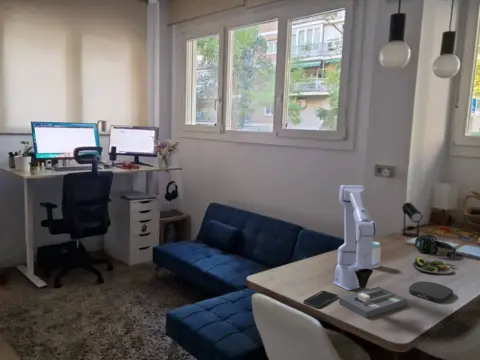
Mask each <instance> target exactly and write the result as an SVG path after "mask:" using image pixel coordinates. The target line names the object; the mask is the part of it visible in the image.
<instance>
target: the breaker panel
mask: <svg viewBox="0 0 480 360" xmlns="http://www.w3.org/2000/svg"><path fill="white" fill-rule="evenodd" d="M360 293H364V294H366V295H368V296H370V300H367V301H364V302H363V301H361V300H359V299H358V294H360ZM338 298H339V301H338V303H339V305H341V306H343V307H345V308H346V309H349V310H350V311H352V312H354V313H356V314H357V315H360V316H361V317H363V318H366V319H368V318H371V317H374V316H377V315H380V314H384V313H386V312H390V311H393V310H395V309H398V308H402V307H404V306H407V298H406V297H403V296H401V295H398V294H397V293H394V292H392V291H389V290H387V289H384V288H383V287H380V286H376V287H372V288H369V289H365V290H361V291H358V292H354V293H351V294H348V295H347V294H346V295H344V296H340V297H338Z"/></svg>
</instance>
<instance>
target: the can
mask: <svg viewBox="0 0 480 360" xmlns="http://www.w3.org/2000/svg"><path fill="white" fill-rule="evenodd" d="M380 244H381V243H380V242H379V241H374V240H373V248H372V260H376V261H379V266H377V267H376V266H374V267H373V269H379V268H380V267H381V255H382V254H381V253H382V251H381V250H382V247H381V246H382V245H380Z"/></svg>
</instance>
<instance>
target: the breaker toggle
mask: <svg viewBox="0 0 480 360" xmlns="http://www.w3.org/2000/svg"><path fill="white" fill-rule="evenodd" d="M358 299H359V300H361V301H363V302H364V301H367V300H370V296H368V295H366V294H364V293H360V294H358Z"/></svg>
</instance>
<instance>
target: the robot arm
mask: <svg viewBox="0 0 480 360" xmlns="http://www.w3.org/2000/svg"><path fill="white" fill-rule="evenodd" d="M338 195H339V197H338V199H339V201H338V202H339V204H340V205H341V206H343V212H344V213H343V214H344V215H343V216H344V217H343V223H344V224H343V225H344V228H343V229H344V231H343V232H344V234H343V235H344V243H342V245H340V246H339V247H338V248H337V256H336V257H337V264H336V267H335V271H334V281H333V284H334V285H337V286H338V287H340V288H342V289H344V290H345V291H352V290H356V289H360V288H361V289H365V288H366V287H367V284H368V281H369V279H370V277H371V275H372V274H373V272H374V271H373V269H374V268H373V267H374V266H376V267H377V266H379V261H376V260H372V248H373V241H374V237H375V236H376V233H377V227H376V223H375V221H374V220H373V219H371V216H370V213H369V210H368V209H367V208H365V206H364V199H365V197H366V188H365V186H364V185H363V184H360V185H359V184H357V185H355V184H352V185H351V184H349V185H347V184H341V185H340V186H339V190H338Z"/></svg>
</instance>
